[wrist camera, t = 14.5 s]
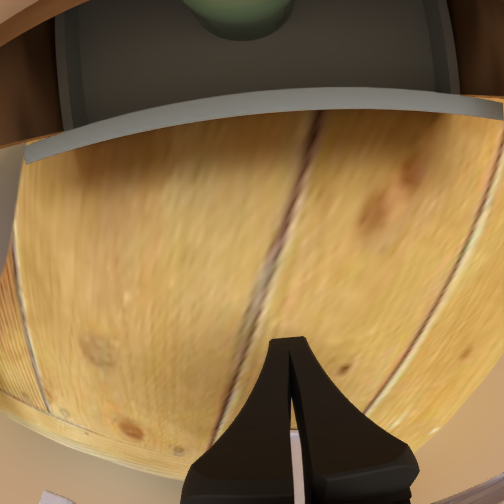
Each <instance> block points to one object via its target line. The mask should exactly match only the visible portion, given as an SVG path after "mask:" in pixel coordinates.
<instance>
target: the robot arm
mask: <svg viewBox="0 0 504 504" xmlns="http://www.w3.org/2000/svg"><path fill="white" fill-rule="evenodd" d="M291 397H292V402H293V407H294V412H295V417H296V423H297V428H298V430H290V425H291ZM419 471H420V470H419V466H418V463H417V460H416V458H415V456H414V454H413V452H412V451H411V449H410V447H409V446H408V444H406V443H404V442H403V441H401V440H399V439H397V438H396V437H394V436H392V435H391V434H389V433H388V432H386V431H385V430H383V429H382V428H381V427H379V426H378V425H376V424H375V423H374V422H373V421H371V420H370V419H369V418H368V417H366V416H365V415H364V414H363V413H361V412H360V411H359V410H358V409H357V408H356V407H355V406H354V405H353V404H352V403H351V402H350V401H349V400H348V399H347V398H346V397H345V396H344V395H343V394H342V393H341V392H340V390H339V389H338V388H337V387H336V386H335V384H334V383H333V382H332V381H331V379H330V378H329V377H328V375H327V374H326V373H325V371H324V370H323V368H322V367H321V365H320V364H319V362H318V361H317V359H316V357H315V356H314V354H313V352H312V350H311V349H310V347H309V344H308V342H307V340H306V338H305V337H304V336H300V337H290V338H279V339H271V340H270V341H269V348H268V352H267V356H266V359H265V362H264V365H263V368H262V370H261V373H260V375H259V378H258V380H257V382H256V384H255V386H254V388H253V390H252V392H251V394H250V396H249V398H248V400H247V401H246V403H245V405H244V406H243V408H242V409H241V411H240V412H239V414H238V415H237V417H236V418H235V419H234V421H233V422H232V424H231V425H230V426H229V428H228V429H227V430H226V431H225V432H224V433H223V435H222V436H221V437H220V438H219V439H218V440H217V441H216V442H215V443H214V445H213V446H212V447H211V448H210V449H209V450H208V451H206V452H205V453H204V454H203V455H202V456H201V457H200V458H199V459H198V460H196V461H195V462H194V463H193V464H192V465H191V467H190V469H189V471H188V474H187V476H186V479H185V482H184V485H183V488H182V495H181V501H180V504H411V503H410V498H411V496H412V495H411V491H410V486H411V484H412V483H413V481H414V480H415V479H416V477H417V475H418V474H419ZM39 504H76V503H75V502H73V501H72V500H70V499H68V498H66V497H63V496H60V495H57V494H55V493H52V492H49V491H47V490H45V491H44V492H43V494H42V497H41V499H40V502H39ZM431 504H504V472H503V473H501V474H499V475H497V476H495V477H493V478H491V479H489V480H487V481H485V482H483V483H481V484H479V485H476V486H474V487H472V488H470V489H467V490H465V491H463V492H460V493H458V494H455V495H453V496H450V497H448V498H445V499H442V500H440V501H437V502H434V503H431Z"/></svg>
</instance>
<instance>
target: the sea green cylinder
mask: <svg viewBox="0 0 504 504" xmlns="http://www.w3.org/2000/svg"><path fill="white" fill-rule="evenodd" d="M182 1H183V2H184V3H185V5H186V6H187V7H188V9H189V10H190V11H191V12H192V14H193V15H194V16H195V18H196V19H197V20H198V21H199V23H200V24H201V25H202V26H203V27H204V28H205V29H206V30H207V31H209V32H210V33H212V34H214V35H216V36H218V37H220V38H223V39H227V40H232V41H251V40H256V39H260V38H263V37H266V36H268V35H270V34H272V33H274V32H275V31H277V30H278V29H279V28H281V27H282V26H283V25H284V24H285V23H286V21H287V20H288V19H289V17H290V15H291V13H292V10H293V7H294V4H295V0H182Z"/></svg>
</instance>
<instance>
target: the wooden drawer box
mask: <svg viewBox="0 0 504 504" xmlns="http://www.w3.org/2000/svg"><path fill="white" fill-rule="evenodd" d="M87 1H89V0H0V149H2V148H6V147H9V146H13V145H17V144H21V143H25V142H29V141H33V140H37V139H41V138H46V137H50V136H54V135H57V134H60V133H63V132H64V128H63V121H62V114H61V106H60V97H59V88H58V77H57V64H56V45H55V16H56V15H58V14H60V13H62V12H64V11H66V10H68V9H71V8H73V7H75V6H77V5H80V4H82V3H84V2H87ZM446 2H447V6H448V11H449V16H450V21H451V26H452V32H453V37H454V44H455V51H456V58H457V66H458V75H459V86H460V95H461V96H467V97H485V98H501V99H504V0H446Z"/></svg>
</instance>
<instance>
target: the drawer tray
mask: <svg viewBox="0 0 504 504" xmlns="http://www.w3.org/2000/svg"><path fill="white" fill-rule="evenodd" d="M55 45H56V64H57V77H58V88H59V97H60V106H61V114H62V121H63V128H64V132H63V133H60V134H57V135H54V136H52V137H49V138H46V139H43V140H40V141H38V142H35V143H33V144H30V145H27V146H25V147H23V153H24V158H25V163H26V164H29V163H32V162H35V161H38V160H41V159H44V158H47V157H50V156H53V155H57V154H60V153H63V152H66V151H70V150H73V149H77V148H80V147H84V146H87V145H91V144H95V143H99V142H102V141H106V140H110V139H114V138H119V137H123V136H127V135H131V134H136V133H140V132H145V131H150V130H155V129H160V128H165V127H170V126H176V125H182V124H187V123H194V122H200V121H206V120H213V119H221V118H228V117H236V116H245V115H254V114H265V113H276V112H289V111H306V110H331V109H385V110H409V111H425V112H438V113H449V114H458V115H467V116H475V117H483V118H490V119H496V120H503V121H504V117H503V103H500V102H495V101H490V100H485V99H479V98H474V97H467V96H461V95H460V86H459V75H458V66H457V58H456V51H455V44H454V37H453V32H452V26H451V21H450V16H449V11H448V6H447V2H446V0H295V4H294V7H293V10H292V13H291V15H290V17H289V19H288V20H287V21H286V23H285V24H284V25H283V26H282V27H281V28H279V29H278V30H277V31H275V32H274V33H272V34H270V35H268V36H266V37H263V38H260V39H256V40H251V41H232V40H227V39H223V38H220V37H218V36H216V35H214V34H212V33H210V32H209V31H207V30H206V29H205V28H204V27H203V26H202V25H201V24H200V23H199V21H198V20H197V19H196V18H195V16H194V15H193V14H192V12H191V11H190V10H189V9H188V7H187V6H186V5H185V3H184V2H183V1H182V0H89V1H87V2H84V3H82V4H80V5H77V6H75V7H73V8H71V9H68V10H66V11H64V12H62V13H60V14H58V15H56V16H55Z"/></svg>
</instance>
